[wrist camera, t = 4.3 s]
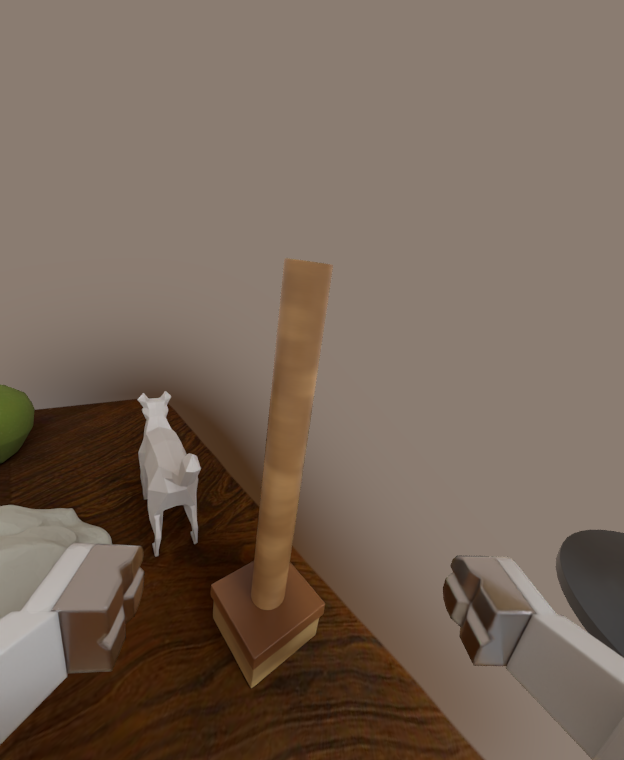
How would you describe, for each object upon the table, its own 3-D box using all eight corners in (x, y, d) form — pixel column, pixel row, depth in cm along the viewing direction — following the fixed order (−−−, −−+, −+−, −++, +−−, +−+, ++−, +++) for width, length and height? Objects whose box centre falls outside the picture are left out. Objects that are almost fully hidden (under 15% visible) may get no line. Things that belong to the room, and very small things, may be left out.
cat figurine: (173, 466, 44) (172, 367, 40) (218, 591, 29) (225, 452, 24) (135, 473, 42) (130, 369, 37) (162, 614, 26) (159, 465, 22)
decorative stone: (136, 553, 29) (49, 527, 21) (45, 666, 25) (-103, 685, 17) (72, 491, 34) (-19, 451, 26) (-14, 579, 30) (-153, 563, 22)
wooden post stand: (273, 576, 31) (314, 262, 22) (319, 635, 27) (393, 273, 17) (209, 616, 27) (225, 249, 18) (250, 694, 22) (300, 259, 13)
